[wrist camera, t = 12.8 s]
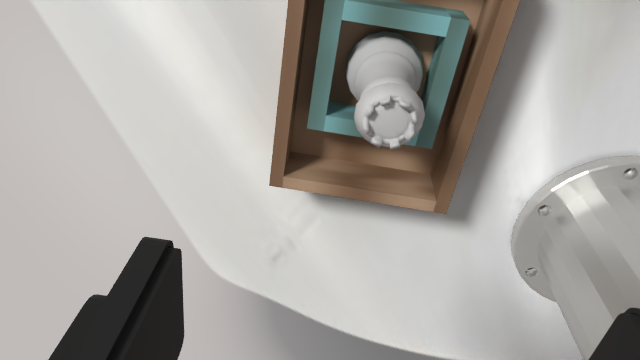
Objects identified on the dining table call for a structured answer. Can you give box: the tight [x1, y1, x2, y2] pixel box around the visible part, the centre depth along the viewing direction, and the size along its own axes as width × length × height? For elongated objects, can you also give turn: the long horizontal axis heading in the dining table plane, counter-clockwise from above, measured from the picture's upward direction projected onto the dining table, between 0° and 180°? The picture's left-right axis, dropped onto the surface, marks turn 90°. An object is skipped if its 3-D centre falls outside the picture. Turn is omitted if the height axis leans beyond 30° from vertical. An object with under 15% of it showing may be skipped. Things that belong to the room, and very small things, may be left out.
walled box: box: [269, 0, 520, 214], centre depth 28 cm, size 11×15×4 cm
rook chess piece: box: [345, 31, 425, 150], centre depth 25 cm, size 4×4×8 cm
